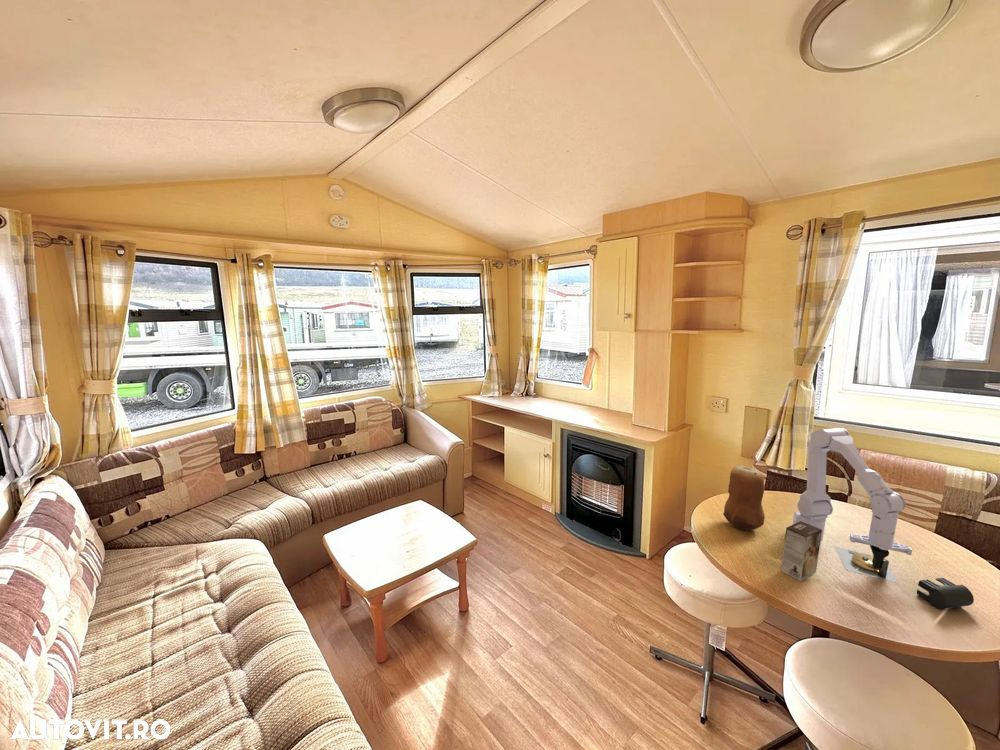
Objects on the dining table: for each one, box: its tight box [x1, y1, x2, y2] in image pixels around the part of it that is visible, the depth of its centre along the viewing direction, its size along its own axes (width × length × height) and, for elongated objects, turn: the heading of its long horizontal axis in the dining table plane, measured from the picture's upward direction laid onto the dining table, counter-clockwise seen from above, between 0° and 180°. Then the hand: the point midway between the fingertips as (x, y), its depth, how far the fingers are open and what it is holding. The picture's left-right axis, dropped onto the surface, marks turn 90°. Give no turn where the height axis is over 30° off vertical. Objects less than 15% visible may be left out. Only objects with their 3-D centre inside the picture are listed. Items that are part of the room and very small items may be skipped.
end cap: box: [916, 577, 975, 610], centre depth 117 cm, size 10×7×7 cm
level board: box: [835, 546, 899, 584], centre depth 135 cm, size 13×15×1 cm
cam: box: [852, 554, 890, 578], centre depth 133 cm, size 10×8×6 cm
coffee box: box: [780, 521, 822, 582], centre depth 131 cm, size 9×6×16 cm
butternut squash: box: [722, 465, 766, 531], centre depth 157 cm, size 14×13×25 cm
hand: (875, 567), depth 129 cm, fingers closed, pressing on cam
